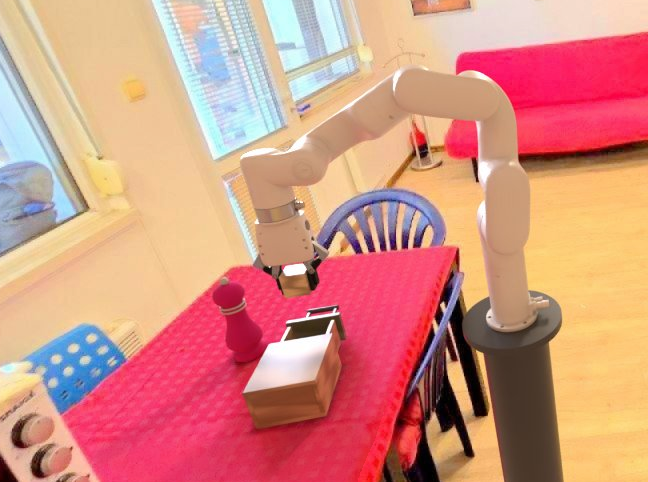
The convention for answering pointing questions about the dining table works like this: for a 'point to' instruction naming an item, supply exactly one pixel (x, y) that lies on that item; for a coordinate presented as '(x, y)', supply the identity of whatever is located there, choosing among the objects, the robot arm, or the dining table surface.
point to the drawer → (317, 325)
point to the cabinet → (293, 381)
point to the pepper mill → (238, 321)
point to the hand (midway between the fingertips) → (300, 288)
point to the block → (295, 281)
